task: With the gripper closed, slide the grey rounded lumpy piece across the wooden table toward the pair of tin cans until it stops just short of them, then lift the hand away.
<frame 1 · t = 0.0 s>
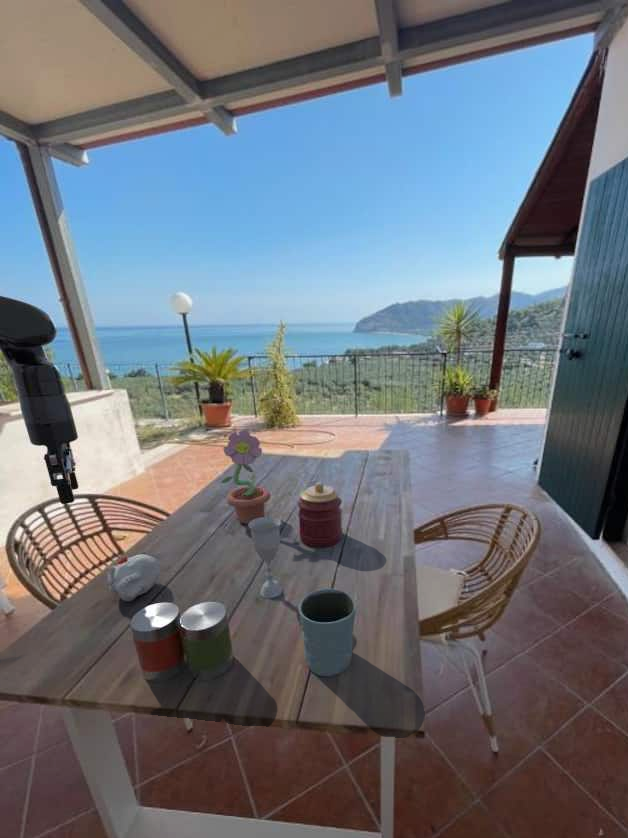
hand: (70, 495, 80), 26 cm above the table, tool pointing down, fingers open, 8 cm apart
chalice: (271, 592, 93), on the table
decorative flower: (249, 520, 130), on the table
kitchen canister: (321, 537, 118), on the table
grey rounded lumpy piece: (136, 589, 94), on the table
tin cans: (188, 664, 72), on the table
light blue cup: (329, 658, 73), on the table
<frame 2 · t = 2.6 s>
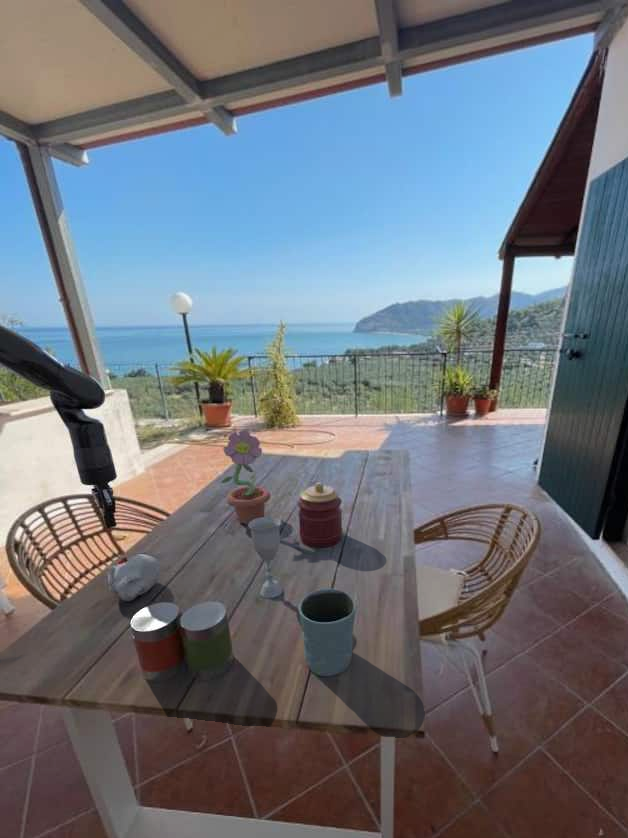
hand: (111, 526, 100), 12 cm above the table, tool pointing down, fingers closed
nothing on the table moved.
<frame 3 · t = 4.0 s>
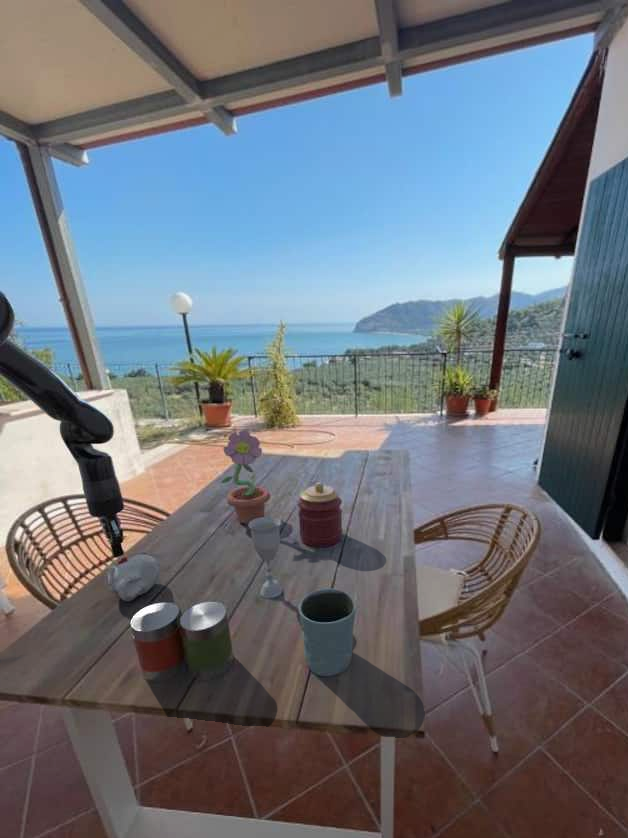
hand: (118, 555, 102), 4 cm above the table, tool pointing down, fingers closed
nothing on the table moved.
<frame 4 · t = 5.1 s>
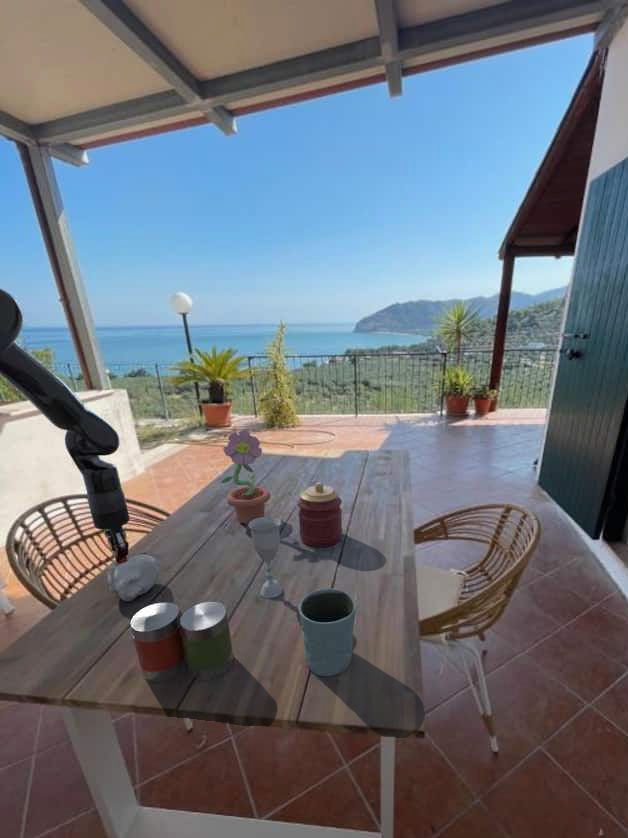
hand: (123, 567, 100), 2 cm above the table, tool pointing down, fingers closed
grey rounded lumpy piece: (136, 589, 94), on the table, touching gripper
everything else where it was.
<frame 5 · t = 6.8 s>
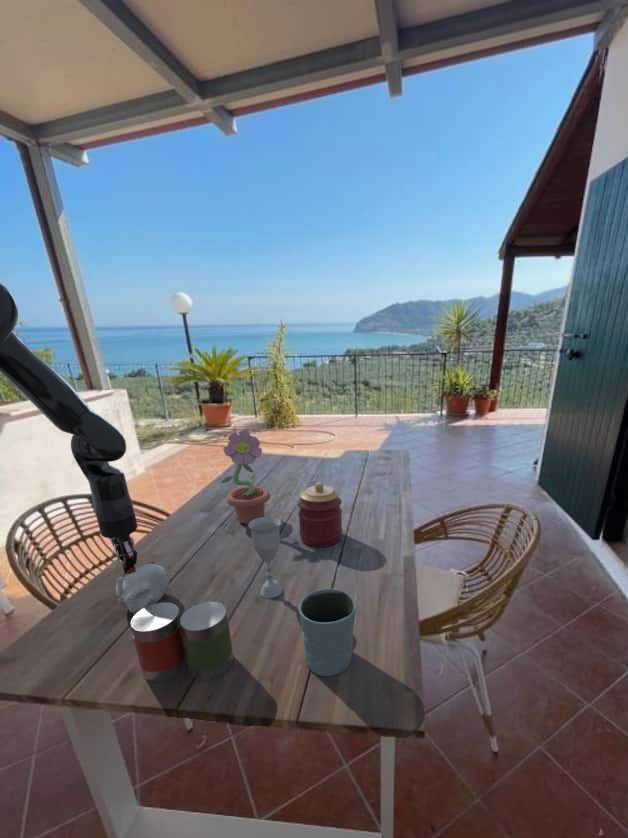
hand: (131, 576, 96), 2 cm above the table, tool pointing down, fingers closed
grey rounded lumpy piece: (145, 600, 90), on the table, touching gripper
everything else where it was.
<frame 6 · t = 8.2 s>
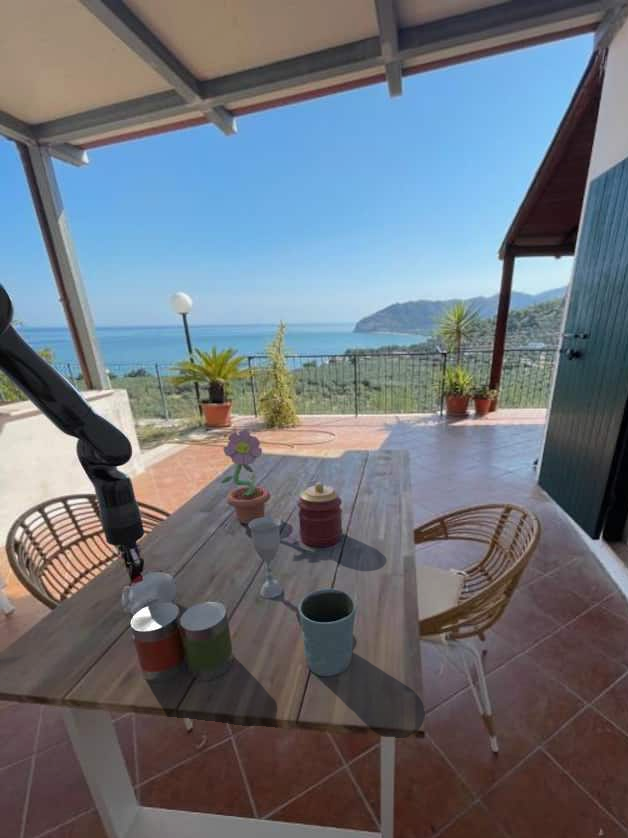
hand: (137, 584, 93), 2 cm above the table, tool pointing down, fingers closed
grey rounded lumpy piece: (152, 610, 87), on the table, touching gripper
everything else where it was.
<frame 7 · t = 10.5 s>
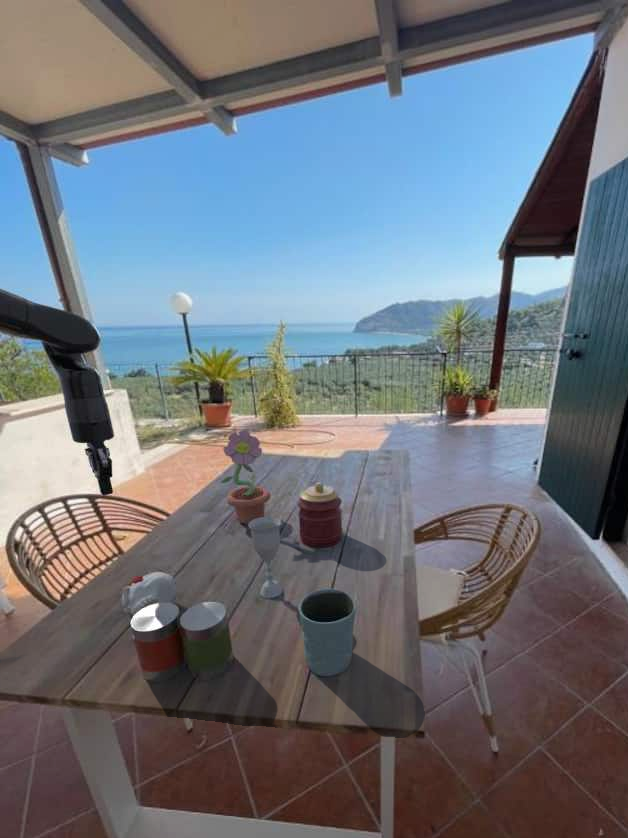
hand: (107, 493, 88), 24 cm above the table, tool pointing down, fingers closed
grey rounded lumpy piece: (152, 610, 87), on the table
everything else where it was.
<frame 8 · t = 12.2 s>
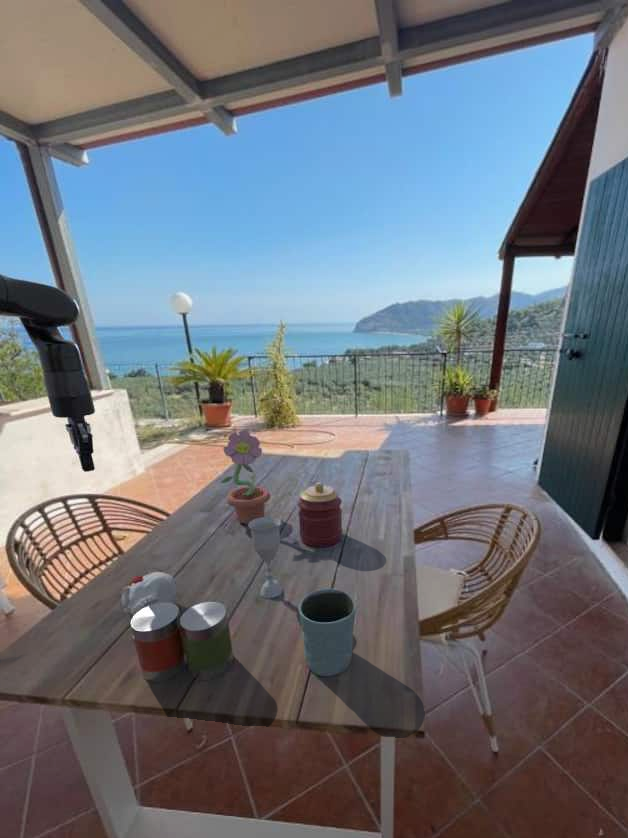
hand: (88, 470, 88), 29 cm above the table, tool pointing down, fingers closed
nothing on the table moved.
at the end: grey rounded lumpy piece 21.6 cm from the tin cans (horizontally); grey rounded lumpy piece moved 11.0 cm from its start; grey rounded lumpy piece tilted 1° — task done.
